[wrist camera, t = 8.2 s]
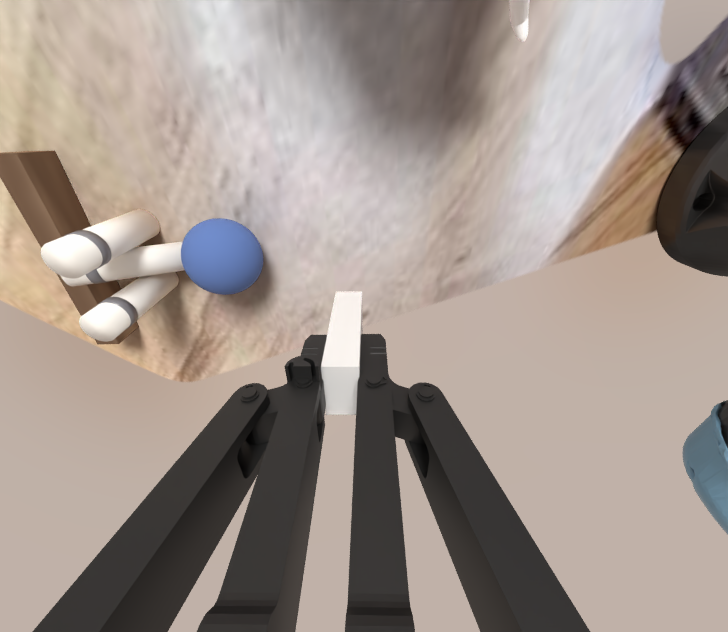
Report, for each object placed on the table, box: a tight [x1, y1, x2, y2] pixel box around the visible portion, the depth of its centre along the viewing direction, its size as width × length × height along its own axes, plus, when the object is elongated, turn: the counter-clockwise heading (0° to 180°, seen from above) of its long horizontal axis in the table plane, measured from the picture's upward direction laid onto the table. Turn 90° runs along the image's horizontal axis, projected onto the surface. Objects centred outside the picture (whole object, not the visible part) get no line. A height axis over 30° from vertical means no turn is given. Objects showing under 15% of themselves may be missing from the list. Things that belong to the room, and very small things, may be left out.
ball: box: [181, 218, 263, 295], centre depth 24 cm, size 6×6×6 cm
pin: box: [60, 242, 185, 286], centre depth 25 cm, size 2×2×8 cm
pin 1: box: [41, 209, 160, 279], centre depth 22 cm, size 2×2×8 cm
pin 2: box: [79, 272, 179, 342], centre depth 25 cm, size 2×2×8 cm
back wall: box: [0, 151, 139, 344], centre depth 26 cm, size 2×16×3 cm, turn 1°
